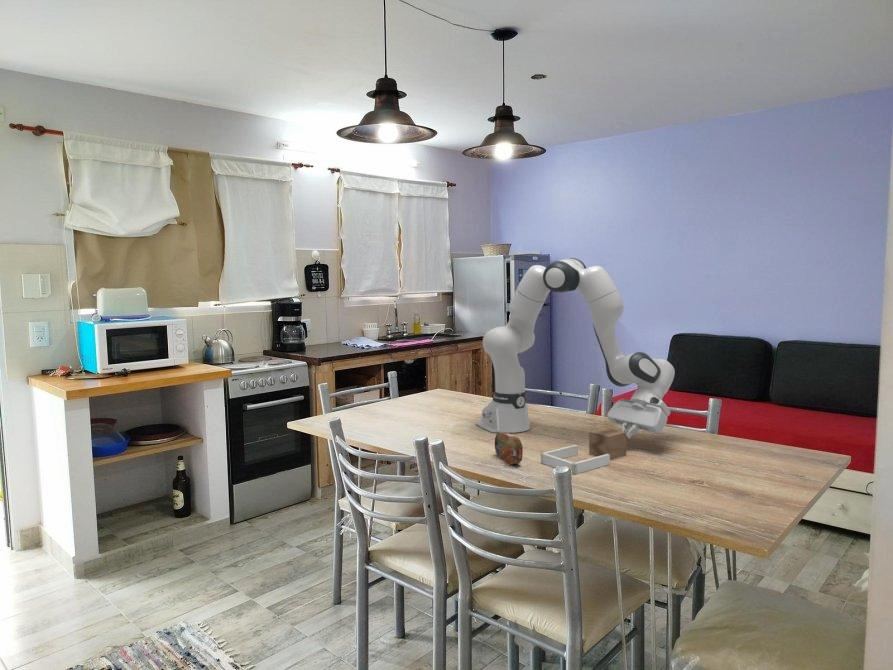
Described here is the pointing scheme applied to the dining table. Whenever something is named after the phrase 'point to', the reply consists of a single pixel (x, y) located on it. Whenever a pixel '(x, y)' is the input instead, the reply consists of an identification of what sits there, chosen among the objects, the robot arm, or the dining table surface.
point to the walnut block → (607, 443)
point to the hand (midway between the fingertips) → (625, 436)
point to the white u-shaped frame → (556, 459)
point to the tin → (508, 448)
